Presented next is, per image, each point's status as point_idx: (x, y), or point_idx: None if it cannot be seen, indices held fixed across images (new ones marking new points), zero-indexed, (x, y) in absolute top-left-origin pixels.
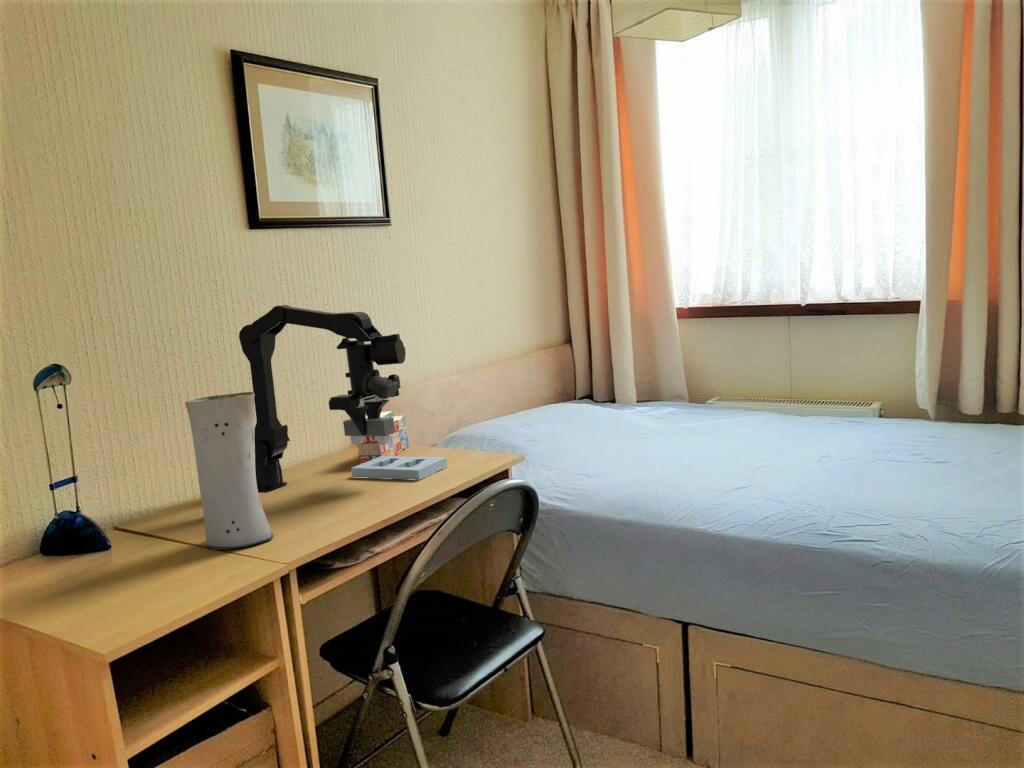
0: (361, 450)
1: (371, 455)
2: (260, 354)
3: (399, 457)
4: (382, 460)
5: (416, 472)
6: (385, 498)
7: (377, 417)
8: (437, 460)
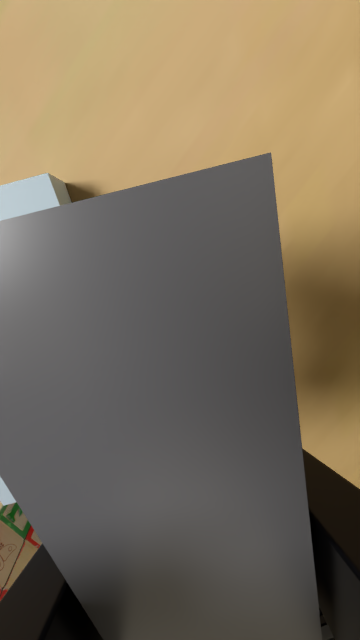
0: None
1: (22, 533)
2: None
3: None
4: None
5: (56, 186)
6: (291, 103)
7: (44, 607)
8: None
